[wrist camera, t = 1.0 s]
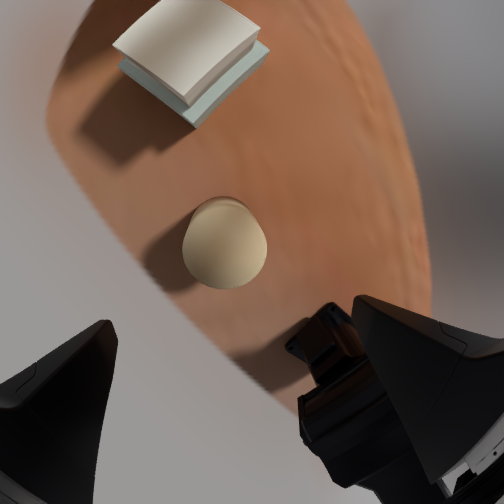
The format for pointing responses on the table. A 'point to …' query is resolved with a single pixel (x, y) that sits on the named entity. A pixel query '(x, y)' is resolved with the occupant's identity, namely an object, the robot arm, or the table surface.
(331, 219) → the table surface
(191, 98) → the cream top block
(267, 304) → the table surface
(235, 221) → the maple cylinder
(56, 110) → the table surface
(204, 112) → the sage base block
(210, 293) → the table surface
